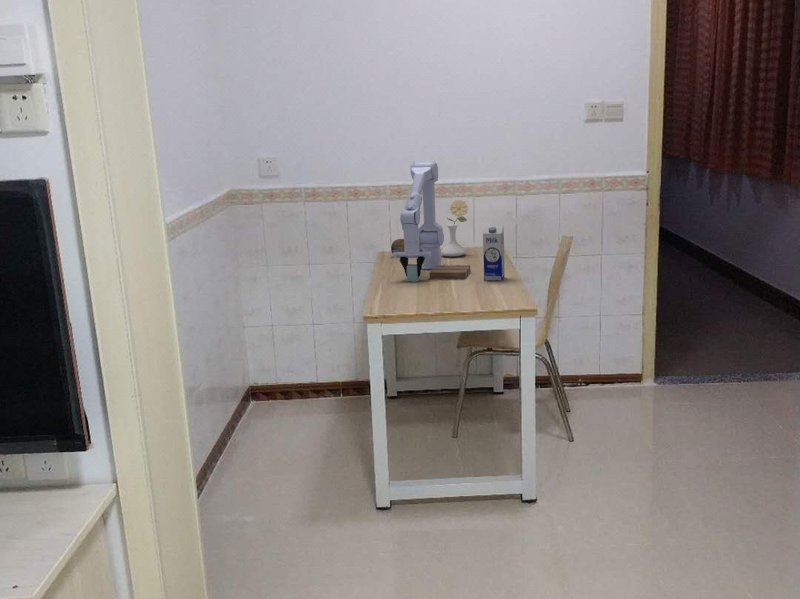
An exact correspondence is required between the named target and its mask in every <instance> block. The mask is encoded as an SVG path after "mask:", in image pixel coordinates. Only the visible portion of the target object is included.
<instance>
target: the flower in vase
mask: <svg viewBox="0 0 800 599" xmlns="http://www.w3.org/2000/svg"><path fill="white" fill-rule="evenodd" d="M468 209H469V206H468V203H467V201H466V200H463V199H459V198H457V199H455V200H454V201H451V203H450V206H449V211H450V213H451V214H452V215H454V216H456V220H453V219H451V218H448V217H446V218H447V220H448V221H451V222H453V223H451V224H449V223H448V224H447V225H446V226H447V228H448V229H449V235H450V237H449V238H450V239H449V242H448V244H446V245H445V246H444V248H442V249H440V250H441V256H444V257H451V258H452V257H453V258H454V257H462V256H464V255H466V254H467V250H466V248H465V247H463V246H462V245H461V244H459V243H458V241H457V238H456V233H457V228H458V227H459V224H458V223H457V224H456V222H457V221H459V222H460V223H464V222H466V221H468V219H467V218H466V216H465V217H464V216H463V215H466V214H467V213H468V211H469V210H468Z"/></svg>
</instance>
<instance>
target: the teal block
mask: <svg viewBox="0 0 800 599" xmlns="http://www.w3.org/2000/svg"><path fill="white" fill-rule="evenodd" d="M417 270H418V269H417V263H415V264H414V263H412V264H411V263H408V265H407V277H406V282H407V281H420V277H418V274H417Z"/></svg>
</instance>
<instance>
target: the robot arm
mask: <svg viewBox="0 0 800 599" xmlns="http://www.w3.org/2000/svg"><path fill="white" fill-rule="evenodd" d="M409 170H410V171H409V172H410V175H411V178H412V180H413V181H412V185H411V186H412V187H411V193H409V194H408V195H407V198H406V202H405V205H404V210H402V211H401V213H400V224H401V229H402V230H403V239H404V251H405V252H394V253H392V257H393V259H397V258H398V259H399V262H400V264H401V266H402V268H403V270H404V273H405V274H404V275H405V277H406V278H407V265H408V264H409V259H410V258H415V259H416V264H417V269H418V270H417V274H418V277H419V278H420V277H421V272H422V270H432V269H433V268H434V267H435V266H442V265H444V263H442V254H441V250H442V249H441V246H442V245H443V244H444V240H445V234H444V229H443V226H442V225H440V224H439V223H438V222H437V221H436V220H437V219H436V201H435V200H436V198H435V195H436V194H435V183H436V182H437V181H439V166H438V164H437V162H436V161H435V160H434V161H418V162H417V161H413V162H411V165H410V168H409ZM421 194H422V195H421ZM421 206H422V207H421ZM421 208H422V209H423V210H422V211H423V223H422V224H421V225H420V222H421ZM419 225H420V226H419ZM419 244H420V245H421V247H422V248H423V252H421V251H419Z"/></svg>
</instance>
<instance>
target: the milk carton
mask: <svg viewBox="0 0 800 599" xmlns="http://www.w3.org/2000/svg"><path fill="white" fill-rule="evenodd" d="M504 226H505V225H485V226H484V229H483V231H482V250H483V251H482V252H483V281H484V280H502V279H503V278H504V279H505V277H506V276H505V240H504V237H505V235H504V233H505V232H504V230H505V228H504ZM504 276H505V277H504ZM504 279H503V280H504ZM503 280H502V281H503Z"/></svg>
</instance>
